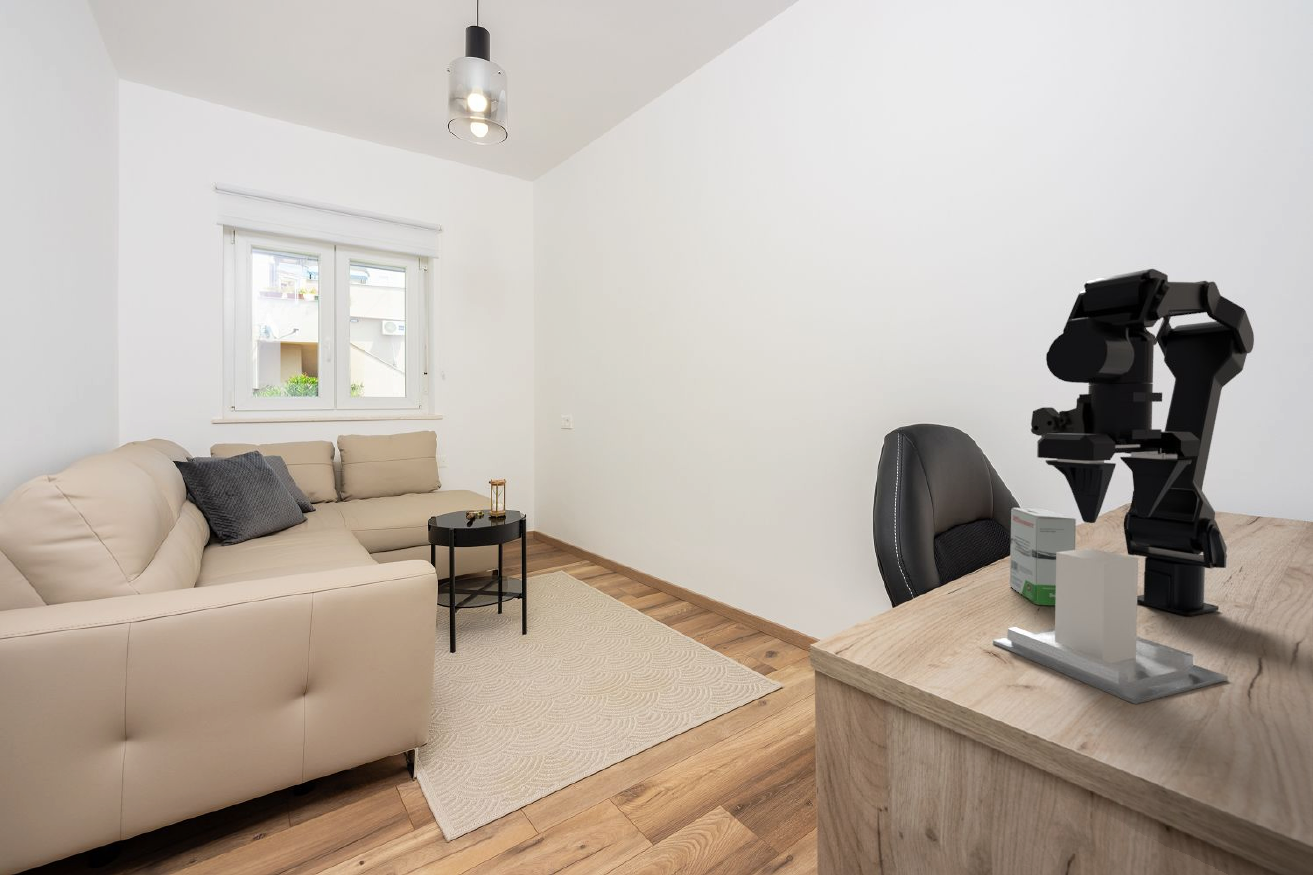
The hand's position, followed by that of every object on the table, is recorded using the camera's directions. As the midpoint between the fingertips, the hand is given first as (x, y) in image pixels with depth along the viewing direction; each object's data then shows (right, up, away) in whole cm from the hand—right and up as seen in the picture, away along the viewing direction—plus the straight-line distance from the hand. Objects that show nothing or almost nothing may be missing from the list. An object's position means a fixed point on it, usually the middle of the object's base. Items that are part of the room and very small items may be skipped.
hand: (1116, 519), depth 66 cm
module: (-9, -12, -8) cm, 17 cm away
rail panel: (-9, -13, -8) cm, 18 cm away
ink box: (0, -13, +13) cm, 18 cm away
